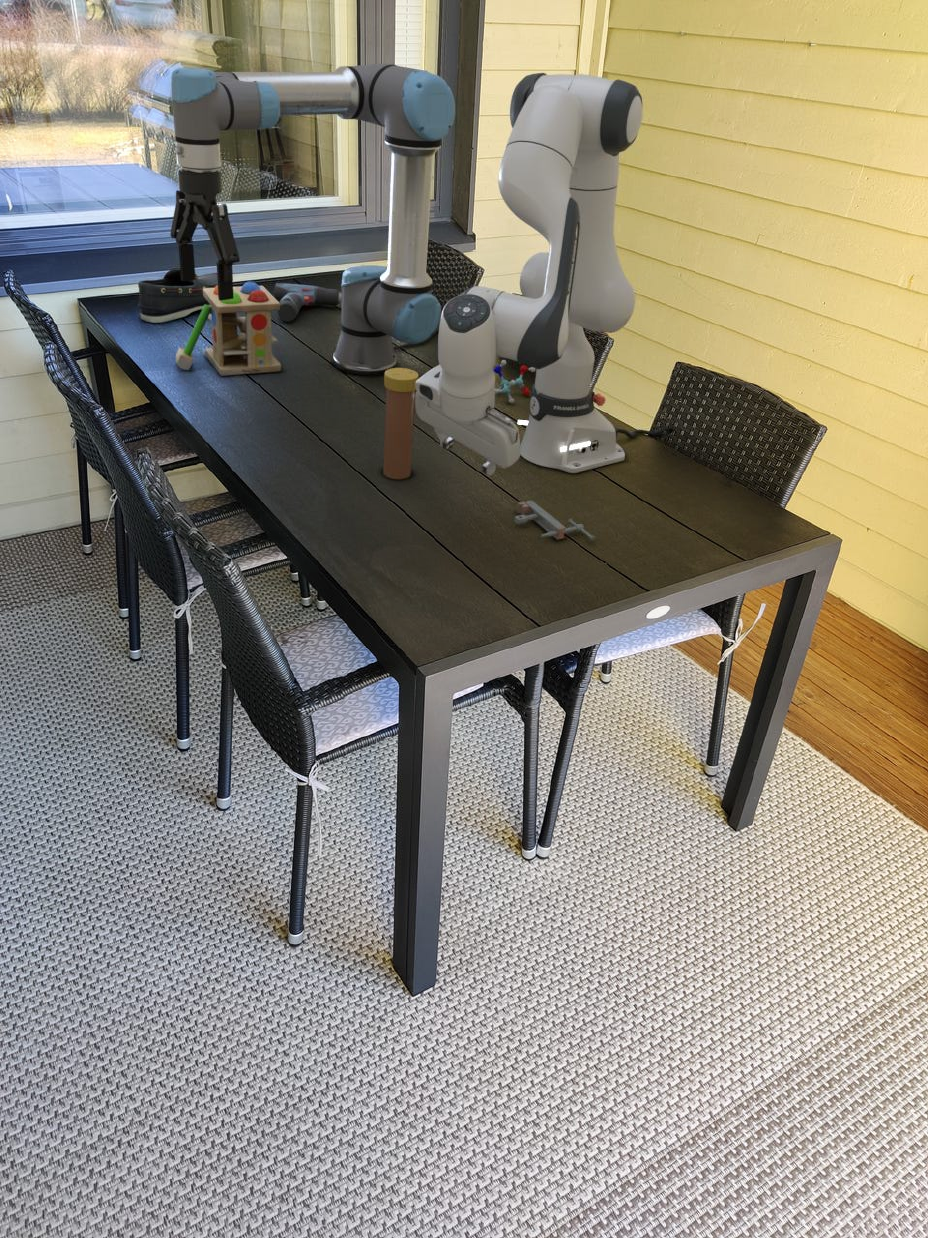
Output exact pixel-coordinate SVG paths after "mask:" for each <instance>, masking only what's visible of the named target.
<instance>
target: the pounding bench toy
mask: <svg viewBox="0 0 928 1238" xmlns="http://www.w3.org/2000/svg"><path fill="white" fill-rule="evenodd" d="M203 296H204V297H205V299H206V300H207V301H208V302H209V304H210V305H211V307H210V306H208V305H204V307H203V309H201V312H200V313H199V316H198V318H197V320H196V322H195V324H194V327H193V329H192V331H191V332H190V333H191V334H190V336H189V338H188V340H187V343H186V344H185V347H184V348H182V347H180V346H179V347H178V349H177V351H176V354H175V357H174V358H175V362H176V365H177V366H178V368H179V369H182V370H185V371H189V370H190V369H191V367H192V365H193V363H194V356H193V351H194V348H195V347H196V345H197V342H198V340H199V337H200V336H201V333H202V332H203V329H204V326H205V325H206V322H207V320H209V321H210V322H211V336H212V337H211V338H212V339H211V340H212V348H205V349H204V352H205V353H204V355H205V357H206V359H208V361H209V363H210V364H211V365H212V366H213V367H214V369H215V370H216V371H217V372H218V374H219V375H220V376H222V377H223V376H234V375H235V376H236V375H246V374H247V375H250V374H262V373H275V372H281V370H282V364H281V363H280V362H279V360H278V359H277V358H276V357H275V356H274V355H273V348H272V347H273V345H272V344H276V343H278V342H279V341H278V339H277V338H276V337H275V336H274V334H272V311H278V310H280V302H278V301H277V300H276V299H275V296H273V295H272V294H271V293H270V292H269V290H268V289H267V288H266V287H264V285H259V284H257V283H256V282H255V281H247V282H245V283H244V284H243V285H242V286H233V298H234V299H228V300H222V301H220V300H219V297H218V285H217V286H216V287H215V288H204V289H203ZM238 313H244V314H245V315H244V316H238ZM238 329H239V331H240V333H239V334H238Z"/></svg>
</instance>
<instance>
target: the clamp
mask: <svg viewBox="0 0 928 1238" xmlns="http://www.w3.org/2000/svg"><path fill="white" fill-rule="evenodd" d="M516 513H517V514H520V515H514V523H515V524H516V525H523V524H526V523H528V522H529V521H534V522H535V523H537V525H539V526H540V527H541V528H543V530H544V531H546V533H543V534H540V537H541V538H547V537H548V538H550V537H553V538H554V539H556V540H562V539H564V538H565V534H568V533H572V532H575V533H578V532H581V533H582V534H584V535H585V536H587V537H588V538H589V540H590V541H591V542H593V541H595V539H596V536H595V535H591V533H589V532H587V530H585V526H584V524H582V523H578V524H577V523H576V522H574V520H573V519H572V518H569V519H568V520H567V523H568V524H570V525H572V526H570V527H565V525H564V524H562V523H561V522H559V521H558V520H557V519H556V518H554V517H553V516H552V515H551V514H550V513H549V512H548V511H546V510H545V509H543V508H542V507H541V506H540V505H539V504H537V503H536V502H535V501H534V500H527V501H519V502H518V503H517V510H516Z"/></svg>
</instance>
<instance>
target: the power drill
mask: <svg viewBox="0 0 928 1238" xmlns="http://www.w3.org/2000/svg"><path fill="white" fill-rule="evenodd" d="M274 298H275V299H276V300H277V301H278V302H279V303H280V310H277V315H278V318H279V319H280V320H281V321H284V322H292V321H293V320H295V318H296V317H297V316H298V314H299V312H300V310H301V309H302V307H303V306H306V307H309V306H312V307H313V306H338V305H339V304H342V292H340V291H339V290H338V289H335V288H334V289H332V288H325V287H321V286H316V285H307V284H297V283H281V282H276V283H275V285H274Z"/></svg>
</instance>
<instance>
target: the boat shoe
mask: <svg viewBox="0 0 928 1238" xmlns="http://www.w3.org/2000/svg"><path fill="white" fill-rule="evenodd" d="M195 278H196V280H189V281H181V273H180V266H176V267H173V268H171V269H170V270H168V271H167V272H166V273H165V274H164V276H163V277H162V278H158V279H143V280H139V281H138V282H137V285H138V286H137V287H138V293H139V294H138V295H139V296H138V301H139V302H138V303H137V307H139V308H140V319H141V320H143V321H145V322H148V323H152V324H158V323H160V324H161V323H166V322H170V321H173V320H177V319H181V318H184V317H187V316H188V315H190V314H191V313H193V312H196V311H199V310H202V309H203V307H204V305H208V306H210V307H211V305H210V304H209V302H208V301H207V300H206V299H205V297H204V296H203V289H204V288H215V287H216V286H217V285H218V280H217V272H211V273H205V274H201V275H198V274H197V273H195Z"/></svg>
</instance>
